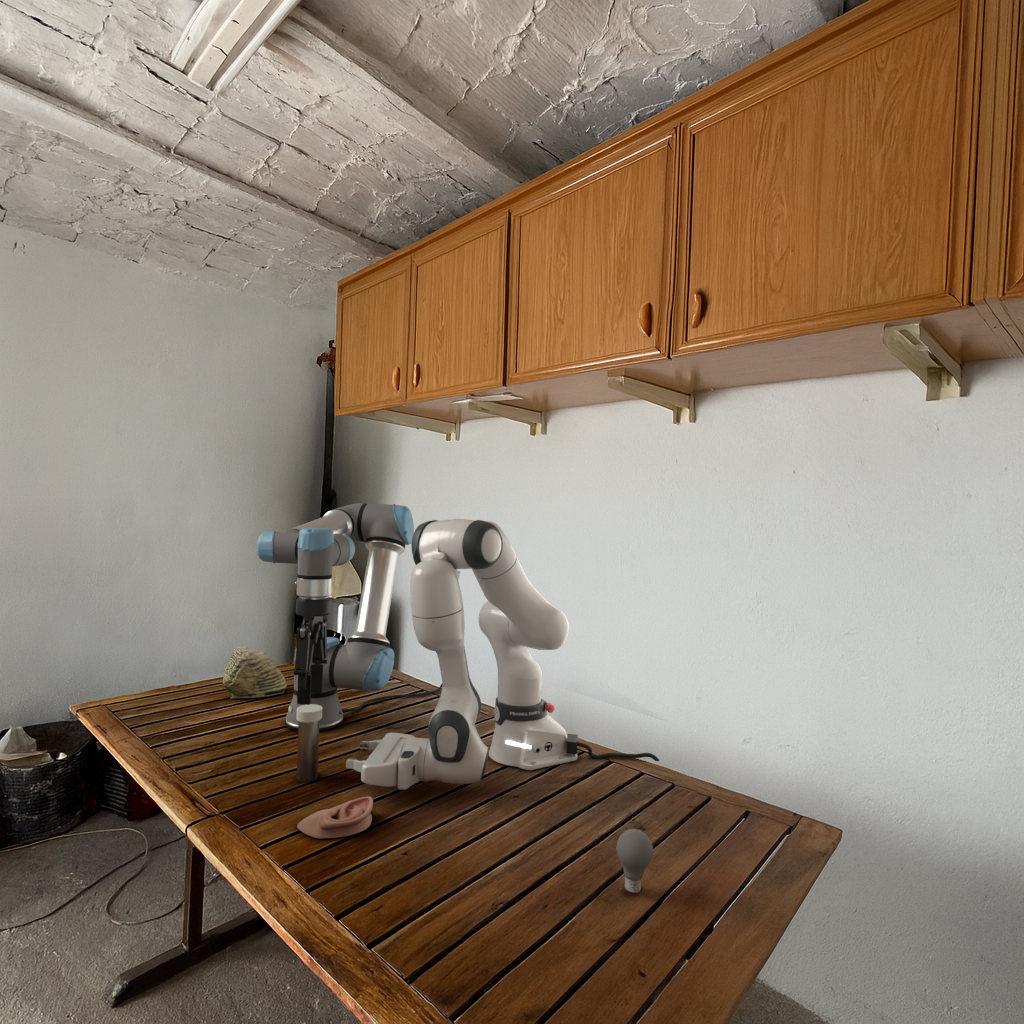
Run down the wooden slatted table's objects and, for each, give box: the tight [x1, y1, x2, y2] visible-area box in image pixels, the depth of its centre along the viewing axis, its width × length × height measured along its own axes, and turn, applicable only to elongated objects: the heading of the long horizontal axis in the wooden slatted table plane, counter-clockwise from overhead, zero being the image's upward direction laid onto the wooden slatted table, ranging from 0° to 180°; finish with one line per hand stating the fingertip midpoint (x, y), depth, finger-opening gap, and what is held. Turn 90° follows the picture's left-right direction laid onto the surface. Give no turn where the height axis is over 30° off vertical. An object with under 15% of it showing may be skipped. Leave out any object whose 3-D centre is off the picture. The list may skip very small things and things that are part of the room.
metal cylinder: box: [296, 720, 320, 783], centre depth 142 cm, size 4×4×15 cm
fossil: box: [222, 646, 288, 699], centre depth 198 cm, size 9×18×15 cm, turn 132°
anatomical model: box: [296, 796, 374, 840], centre depth 123 cm, size 13×4×12 cm
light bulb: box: [615, 828, 654, 894], centre depth 106 cm, size 6×6×10 cm
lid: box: [296, 704, 322, 722], centre depth 142 cm, size 6×6×2 cm
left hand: (310, 698), depth 142 cm, fingers open, 7 cm apart
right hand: (354, 754), depth 141 cm, fingers open, 8 cm apart
